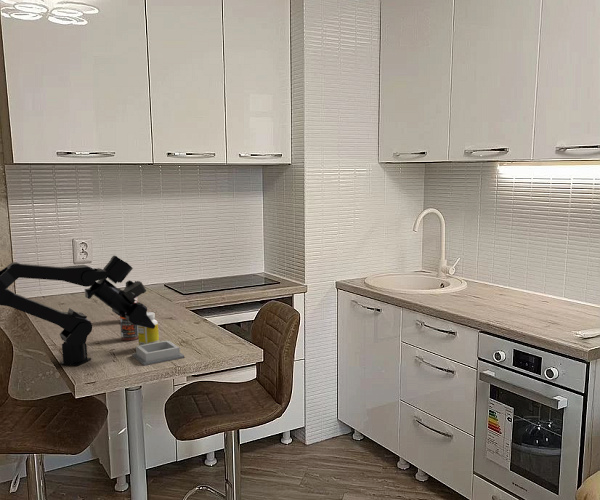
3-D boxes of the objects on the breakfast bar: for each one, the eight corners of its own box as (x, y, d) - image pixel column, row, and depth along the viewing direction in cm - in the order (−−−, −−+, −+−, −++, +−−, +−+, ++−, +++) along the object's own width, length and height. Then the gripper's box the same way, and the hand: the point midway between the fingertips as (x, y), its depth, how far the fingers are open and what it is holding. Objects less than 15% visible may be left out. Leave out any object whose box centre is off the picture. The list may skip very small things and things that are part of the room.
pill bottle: (161, 345, 185) (159, 311, 183) (157, 350, 179) (154, 315, 177) (141, 345, 185) (139, 311, 183) (136, 351, 178) (134, 316, 177)
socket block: (144, 365, 164) (143, 355, 164) (132, 355, 174) (131, 345, 174) (184, 357, 170) (183, 347, 170) (170, 348, 180) (170, 339, 180)
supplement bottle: (121, 342, 190) (118, 308, 189) (121, 337, 196) (119, 304, 194) (140, 340, 192) (137, 306, 190) (139, 335, 197) (137, 303, 196)
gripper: (137, 277, 168) (176, 308, 176) (119, 270, 184) (155, 299, 191) (112, 308, 165) (153, 338, 172) (95, 298, 180) (133, 326, 188)
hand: (149, 324), depth 181 cm, fingers open, 9 cm apart
